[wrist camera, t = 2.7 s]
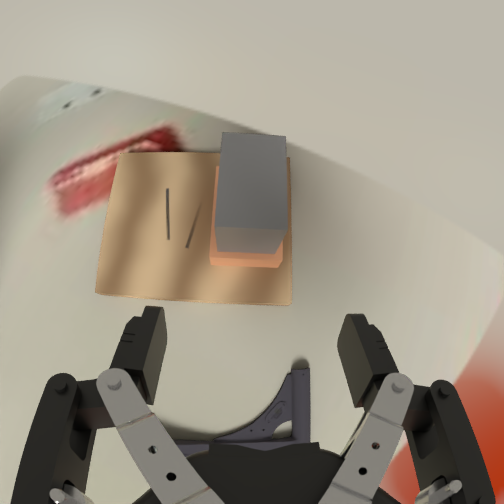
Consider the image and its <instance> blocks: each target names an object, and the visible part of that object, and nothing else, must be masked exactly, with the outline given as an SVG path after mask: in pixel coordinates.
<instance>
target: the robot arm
mask: <svg viewBox="0 0 504 504" xmlns="http://www.w3.org/2000/svg"><path fill="white" fill-rule="evenodd" d="M166 345H167V329H166V322H165V315H164V309H163V307H157V306H146V307H145V309H144V311H143V314H142V317H136V316H134V317H133V318H132V319H131V320H130V321H129V322H128V323H127V324H126V326H125V329H124V331H123V334H122V336H121V339H120V342H119V344H118V347H117V349H116V352H115V355H114V357H113V360H112V363H111V366H110V368H109V369H108V370H105V371H104V372H102V373H101V374H100V375H99V377H98V378H97V379H94V380H86V381H76V380H75V378H74V377H73V376H72V375H70V374H67V373H59V374H56V375H54V376H52V377H51V378H50V379H49V380H48V382H47V384H46V386H45V389H44V392H43V394H42V397H41V400H40V402H39V405H38V408H37V411H36V414H35V416H34V419H33V422H32V425H31V428H30V431H29V435H28V438H27V441H26V444H25V448H24V451H23V455H22V458H21V462H20V465H19V469H18V473H17V477H16V481H15V486H14V490H13V495H12V499H11V504H94V503H93V501H92V500H91V499H90V498H89V497H87V496H86V495H85V490H86V484H87V478H88V472H89V466H90V461H91V455H92V450H93V445H94V440H95V436H96V431H97V429H100V428H110V427H116V429H117V431H118V433H119V435H120V436H121V438H122V440H123V442H124V444H125V446H126V447H127V449H128V451H129V453H130V454H131V456H132V458H133V460H134V461H135V463H136V465H137V466H138V468H139V469H140V471H141V473H142V474H143V476H144V477H145V479H146V481H147V482H148V484H149V485H150V487H151V488H150V489H149V490H148V491H147V492H145V493H144V494H143V495H142V496H141V497H140V498H138V499H137V500H136V501H135V502H134V503H132V504H401V503H400V502H398V501H397V500H396V499H394V498H393V497H391V496H390V495H389V494H388V493H386V492H385V491H384V490H383V489H381V488H380V487H379V484H380V482H381V480H382V478H383V476H384V474H385V472H386V470H387V468H388V465H389V463H390V461H391V459H392V456H393V454H394V452H395V449H396V447H397V445H398V442H399V440H400V437H401V435H402V432H403V430H405V432H406V436H407V439H408V443H409V446H410V451H411V455H412V458H413V462H414V466H415V470H416V475H417V479H418V483H419V488H420V493H419V494H418V495H417V497H416V499H415V504H495V502H496V501H495V495H494V492H493V488H492V485H491V481H490V478H489V475H488V472H487V469H486V466H485V463H484V460H483V457H482V454H481V451H480V448H479V445H478V443H477V440H476V437H475V435H474V432H473V430H472V427H471V424H470V422H469V419H468V417H467V414H466V412H465V409H464V407H463V405H462V402H461V400H460V398H459V396H458V393H457V391H456V389H455V387H454V386H453V385H452V384H451V383H450V382H448V381H445V380H437V381H435V382H433V383H432V385H431V386H430V387H426V386H419V385H414V384H413V383H412V381H411V380H410V379H409V378H408V377H407V376H406V375H404V374H401V373H399V371H398V369H397V366H396V364H395V362H394V360H393V357H392V355H391V353H390V351H389V349H388V346H387V344H386V342H385V340H384V338H383V335H382V333H381V332H380V331H379V330H378V329H377V328H376V327H375V326H374V325H369V324H368V322H367V319H366V317H365V315H364V314H347V315H346V316H345V319H344V322H343V325H342V328H341V331H340V334H339V337H338V343H337V347H338V353H339V356H340V359H341V362H342V366H343V369H344V372H345V376H346V379H347V383H348V386H349V390H350V393H351V397H352V400H353V404H354V407H355V408H358V407H364V411H365V412H364V414H363V415H362V417H361V419H360V421H359V423H358V425H357V426H356V428H355V430H354V432H353V434H352V436H351V437H350V439H349V441H348V443H347V444H346V446H345V448H344V449H343V451H342V452H341V454H340V455H338V454H336V453H334V452H331V451H328V450H324V449H320V447H319V442H313V443H299V444H291V445H287V446H283V447H279V448H276V449H272V450H267V451H263V450H258V449H253V448H249V447H244V446H240V445H233V444H211V443H209V450H205V451H201V452H197V453H194V454H192V455H190V456H188V457H186V458H185V456H184V455H183V454H182V452H181V451H180V450H179V448H178V447H177V445H176V444H175V443H174V441H173V440H172V438H171V437H170V435H169V434H168V433H167V431H166V430H165V428H164V427H163V425H162V424H161V422H160V421H159V419H158V418H157V416H156V415H155V414H154V413H152V412H151V411H150V409H149V407H148V406H147V404H148V405H153V404H154V399H155V394H156V389H157V385H158V380H159V376H160V371H161V367H162V362H163V358H164V354H165V350H166Z"/></svg>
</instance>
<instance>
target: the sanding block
mask: <svg viewBox="0 0 504 504" xmlns="http://www.w3.org/2000/svg"><path fill="white" fill-rule="evenodd" d="M287 231H288V203H287V160H286V137H285V136H276V135H263V134H248V133H229V132H222V142H221V152H220V163H219V166H216V176H215V187H214V199H213V212H212V225H211V238H210V253H209V259H210V263H211V265H223V266H245V267H269V268H278V267H279V265H280V264H281V262H282V261H283V238H284V236H285V235H286V233H287Z"/></svg>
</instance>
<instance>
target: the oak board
mask: <svg viewBox="0 0 504 504" xmlns="http://www.w3.org/2000/svg"><path fill="white" fill-rule="evenodd" d="M286 160H287V203H288V231H287V233H286V235H285V236H284V238H283V261H282V262H281V264H280V265H279V267H278V268H269V267H245V266H223V265H211V263H210V259H209V253H210V238H211V225H212V212H213V199H214V187H215V176H216V166H219V163H220V153H197V152H142V153H120V156H119V160H118V164H117V168H116V172H115V177H114V181H113V185H112V190H111V194H110V199H109V204H108V209H107V214H106V219H105V225H104V231H103V237H102V243H101V249H100V256H99V263H98V271H97V279H96V288H95V292H96V293H98V294H101V295H109V296H120V297H132V298H144V299H157V300H171V301H187V302H204V303H224V304H249V305H283V306H288V305H290V304H292V235H291V184H290V158H289V157H286Z"/></svg>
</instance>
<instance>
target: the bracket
mask: <svg viewBox="0 0 504 504" xmlns="http://www.w3.org/2000/svg"><path fill="white" fill-rule="evenodd" d="M290 420H292V435H291V437H287V438H281V439H272V434H273V432H274V430H275V429H276V428H277V427H278V426H279V425H280V424H282V423H284V422H287V421H290ZM262 429H264V430H262ZM250 430H251V431H250ZM172 440H173V441H174V443H175V444H176V445H177V447H178V448H179V450H180V451H181V452H182V454H183V455H184V456H185V457H188V456H190V455H192V454H194V453H197V452H201V451H205V450H209V443H211V444H233V445H240V446H244V447H249V448H253V449H258V450H263V451H267V450H272V449H276V448H279V447H283V446H287V445H291V444H299V443H310V368H305V369H301V370H294V369H291V374H288V375H287V376H286V378H285V380H284V383H283V385H282V387H281V389H280V391H279V393H278V395H277V396H276V398H275V399H274V401H273V402H272V404H271V405H270V406H269V407H268V408H267V410H266V411H265V412H264V413H263V414H262V415H261V416H260V417H258V418H257V419H256V420H255V421H254V422H253V423H251V424H250V425H248V426H246V427H244V428H242V429H240V430H239V431H236V432H234V433H231V434H228V435H225V436H221V437H218V438H214V441H195V440H175V439H172Z"/></svg>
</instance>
